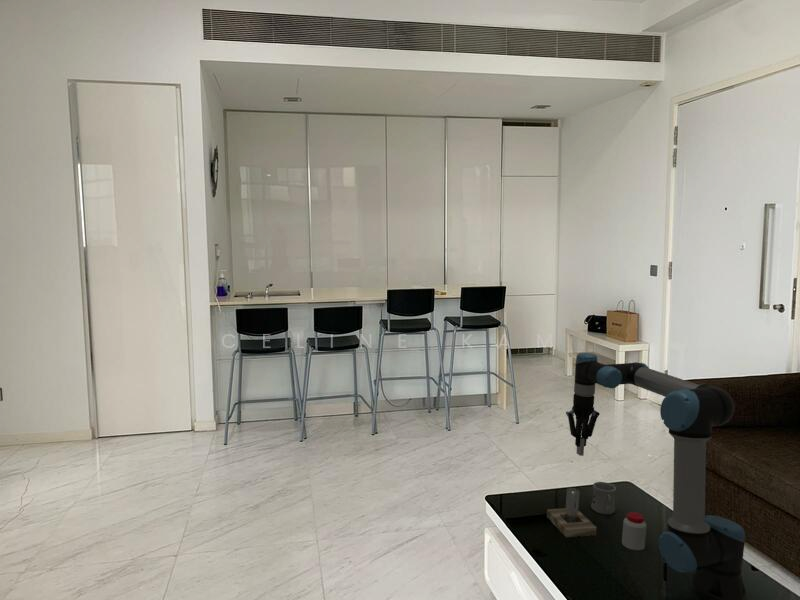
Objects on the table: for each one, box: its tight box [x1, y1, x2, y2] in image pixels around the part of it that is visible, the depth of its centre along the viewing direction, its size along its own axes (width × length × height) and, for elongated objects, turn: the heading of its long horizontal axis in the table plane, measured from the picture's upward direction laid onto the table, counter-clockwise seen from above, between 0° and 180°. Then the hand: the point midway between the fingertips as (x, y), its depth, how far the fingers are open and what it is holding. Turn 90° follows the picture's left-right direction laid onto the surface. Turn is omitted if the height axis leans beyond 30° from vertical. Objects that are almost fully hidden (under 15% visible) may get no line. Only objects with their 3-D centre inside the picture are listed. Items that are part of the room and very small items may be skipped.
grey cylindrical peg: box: [565, 487, 581, 523], centre depth 225 cm, size 5×5×14 cm
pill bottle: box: [621, 511, 648, 551], centre depth 212 cm, size 8×8×11 cm
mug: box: [590, 481, 617, 515], centre depth 237 cm, size 12×9×10 cm
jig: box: [546, 507, 598, 538], centre depth 225 cm, size 16×12×3 cm
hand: (579, 454), depth 227 cm, fingers closed
